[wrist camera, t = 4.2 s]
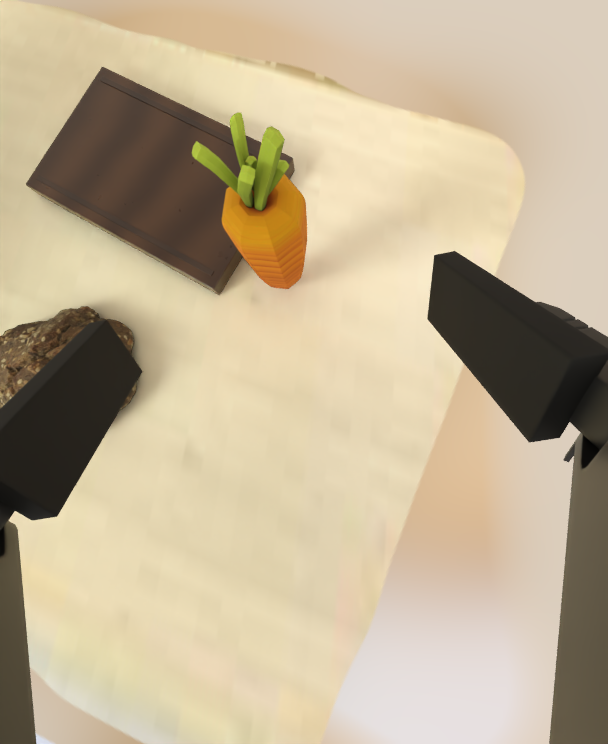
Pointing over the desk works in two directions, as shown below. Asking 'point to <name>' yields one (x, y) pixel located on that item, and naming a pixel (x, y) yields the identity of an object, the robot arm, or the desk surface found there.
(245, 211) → the carrot
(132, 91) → the bread board
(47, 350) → the bread roll
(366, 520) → the desk surface
